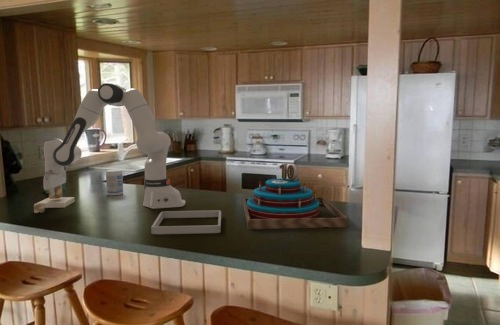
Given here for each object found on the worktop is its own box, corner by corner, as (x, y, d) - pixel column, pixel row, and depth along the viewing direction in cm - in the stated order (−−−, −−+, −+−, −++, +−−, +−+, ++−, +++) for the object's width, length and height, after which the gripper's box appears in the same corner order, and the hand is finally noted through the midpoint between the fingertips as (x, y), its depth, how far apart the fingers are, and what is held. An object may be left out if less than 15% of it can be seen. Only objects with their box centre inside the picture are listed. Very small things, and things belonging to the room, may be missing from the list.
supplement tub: (121, 195, 235) (120, 171, 233) (105, 196, 233) (104, 171, 232) (124, 192, 244) (123, 169, 242) (108, 192, 243) (107, 169, 241)
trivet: (74, 201, 219) (74, 197, 219) (64, 207, 205) (64, 202, 205) (48, 201, 218) (48, 197, 218) (36, 207, 204) (36, 203, 204)
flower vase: (55, 202, 250) (69, 199, 223) (34, 199, 243) (46, 195, 216) (59, 184, 253) (73, 179, 226) (38, 180, 246) (50, 174, 219)
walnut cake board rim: (323, 204, 211) (323, 196, 210) (347, 227, 168) (348, 218, 168) (243, 205, 208) (243, 198, 208) (247, 229, 166) (247, 219, 165)
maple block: (44, 210, 199) (44, 202, 199) (43, 212, 195) (42, 204, 195) (35, 211, 198) (35, 203, 197) (34, 213, 194) (33, 205, 194)
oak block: (62, 196, 214) (62, 187, 213) (58, 198, 209) (58, 189, 208) (53, 196, 213) (52, 187, 213) (49, 198, 208) (48, 189, 208)
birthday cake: (232, 213, 193) (231, 164, 190) (281, 202, 216) (282, 158, 213) (284, 228, 167) (284, 171, 164) (334, 214, 190) (335, 164, 187)
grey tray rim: (221, 216, 186) (221, 210, 186) (220, 232, 161) (220, 225, 160) (161, 217, 185) (161, 211, 184) (151, 234, 159) (150, 227, 158)
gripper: (51, 171, 199) (53, 198, 201) (67, 166, 219) (69, 190, 221) (38, 171, 199) (40, 198, 200) (56, 166, 219) (57, 190, 221)
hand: (55, 194), depth 211 cm, fingers closed on oak block, 5 cm apart
